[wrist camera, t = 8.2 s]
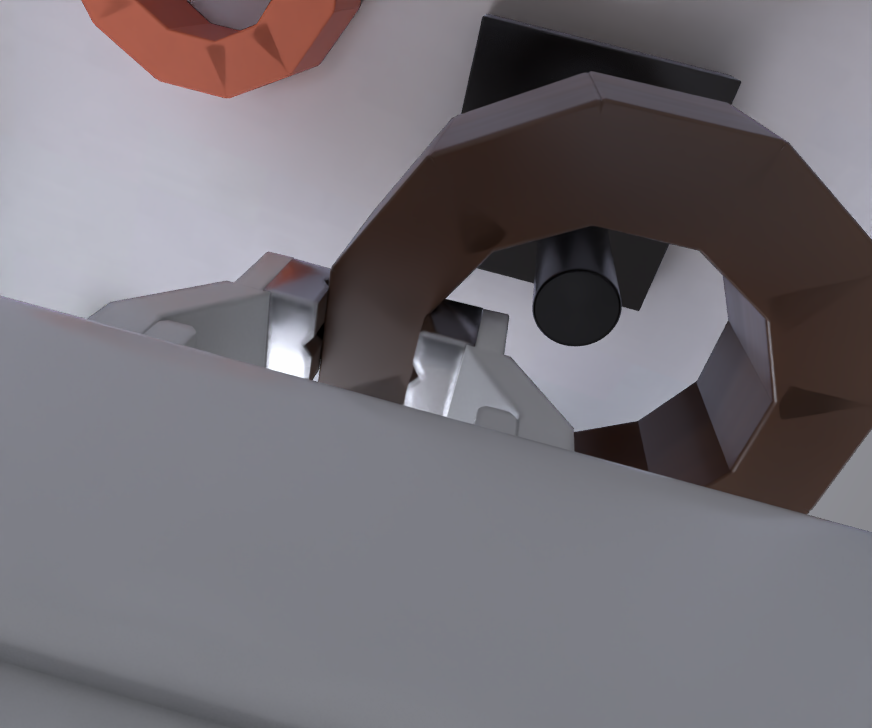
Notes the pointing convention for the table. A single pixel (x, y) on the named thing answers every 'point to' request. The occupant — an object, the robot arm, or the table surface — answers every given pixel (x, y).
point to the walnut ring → (654, 219)
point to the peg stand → (591, 246)
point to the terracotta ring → (222, 41)
